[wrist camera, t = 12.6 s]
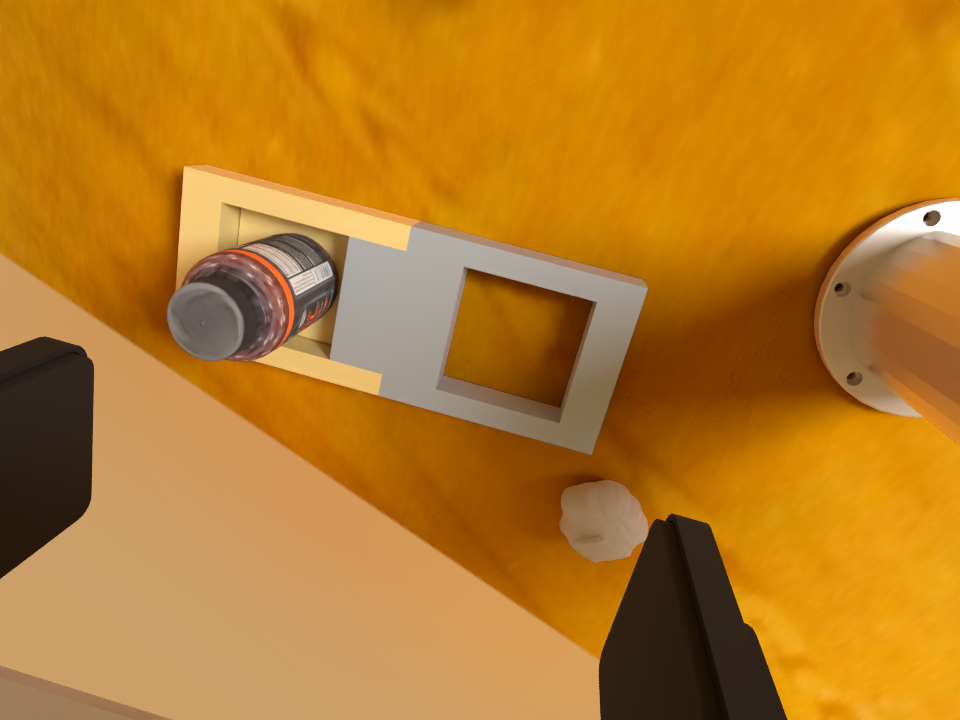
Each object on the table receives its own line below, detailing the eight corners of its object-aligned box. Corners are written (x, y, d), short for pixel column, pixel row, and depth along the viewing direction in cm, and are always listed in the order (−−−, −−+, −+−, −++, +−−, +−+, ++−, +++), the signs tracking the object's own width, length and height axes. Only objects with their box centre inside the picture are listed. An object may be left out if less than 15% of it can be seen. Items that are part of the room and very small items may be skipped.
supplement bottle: (303, 339, 43) (213, 405, 32) (236, 275, 42) (121, 320, 31) (361, 279, 41) (285, 328, 30) (292, 210, 40) (189, 236, 29)
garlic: (545, 518, 45) (541, 565, 40) (572, 454, 43) (571, 494, 38) (626, 547, 45) (633, 597, 40) (657, 484, 43) (667, 528, 38)
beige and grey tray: (643, 279, 38) (648, 288, 36) (590, 437, 42) (591, 455, 40) (206, 164, 40) (183, 166, 37) (193, 327, 44) (172, 338, 41)
